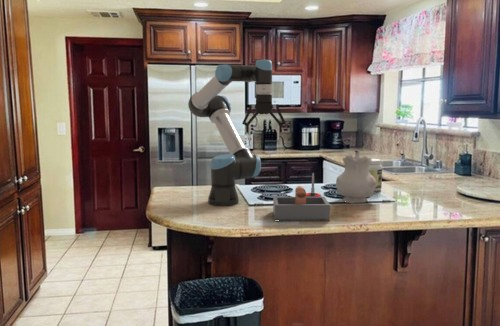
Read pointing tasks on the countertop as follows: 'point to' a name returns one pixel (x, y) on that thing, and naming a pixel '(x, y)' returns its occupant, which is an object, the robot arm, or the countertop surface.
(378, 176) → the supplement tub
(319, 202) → the open box
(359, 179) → the ceramic pitcher
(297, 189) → the wooden peg
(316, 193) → the tow hook
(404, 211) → the countertop surface
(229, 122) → the robot arm
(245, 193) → the countertop surface
